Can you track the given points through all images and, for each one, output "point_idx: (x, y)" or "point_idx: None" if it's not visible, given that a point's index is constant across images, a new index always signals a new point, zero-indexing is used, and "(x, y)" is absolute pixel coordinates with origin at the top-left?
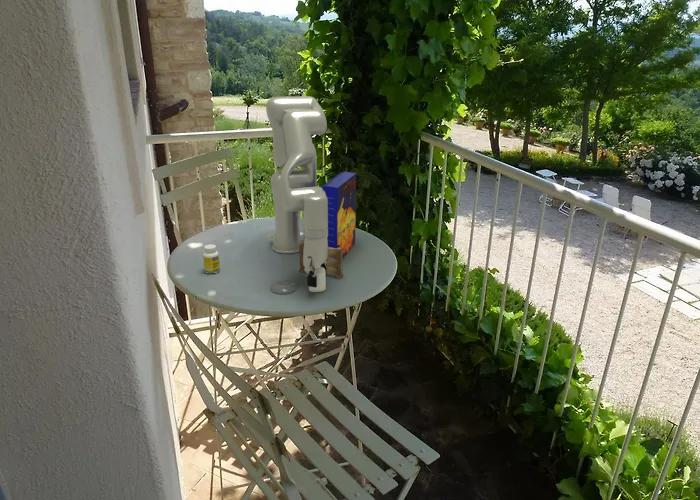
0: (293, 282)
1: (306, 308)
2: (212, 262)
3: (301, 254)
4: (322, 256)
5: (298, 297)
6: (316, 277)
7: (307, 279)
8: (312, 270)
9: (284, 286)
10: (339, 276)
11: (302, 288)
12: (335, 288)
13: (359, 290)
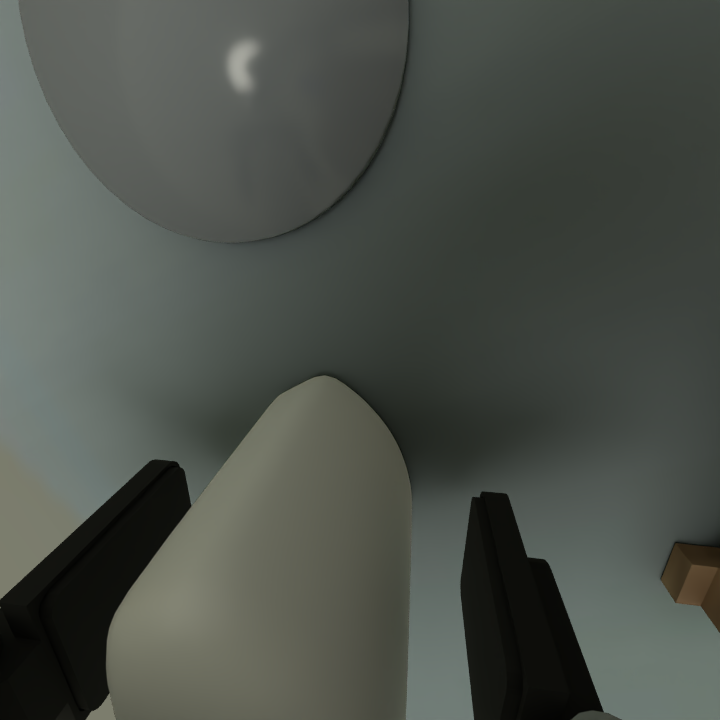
0: (379, 110)
1: (31, 465)
2: None
3: None
4: None
5: (130, 336)
6: (92, 697)
7: (80, 531)
8: (117, 717)
9: (210, 40)
10: (696, 594)
11: (318, 292)
12: (440, 577)
13: (465, 716)
